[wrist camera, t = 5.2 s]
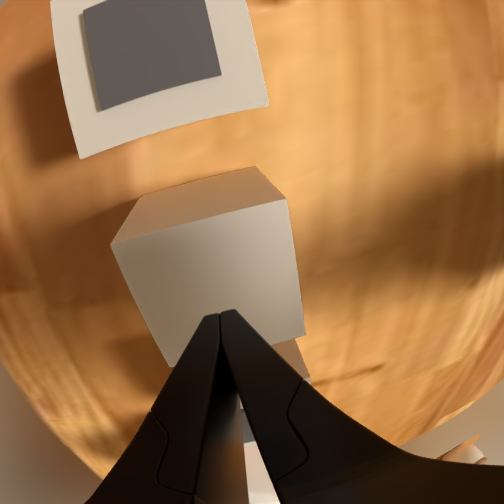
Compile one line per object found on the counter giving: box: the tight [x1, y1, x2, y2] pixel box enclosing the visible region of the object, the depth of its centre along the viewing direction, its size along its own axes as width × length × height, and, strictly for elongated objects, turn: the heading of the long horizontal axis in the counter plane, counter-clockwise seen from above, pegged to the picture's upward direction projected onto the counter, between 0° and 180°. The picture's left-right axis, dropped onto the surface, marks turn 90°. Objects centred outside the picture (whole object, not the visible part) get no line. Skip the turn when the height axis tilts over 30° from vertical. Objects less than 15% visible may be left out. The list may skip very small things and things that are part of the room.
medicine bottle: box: [244, 446, 280, 504], centre depth 16 cm, size 7×7×12 cm
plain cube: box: [110, 166, 306, 367], centre depth 11 cm, size 5×5×5 cm
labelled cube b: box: [50, 0, 270, 160], centre depth 8 cm, size 5×5×5 cm
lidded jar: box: [442, 443, 487, 464], centre depth 39 cm, size 11×11×9 cm
